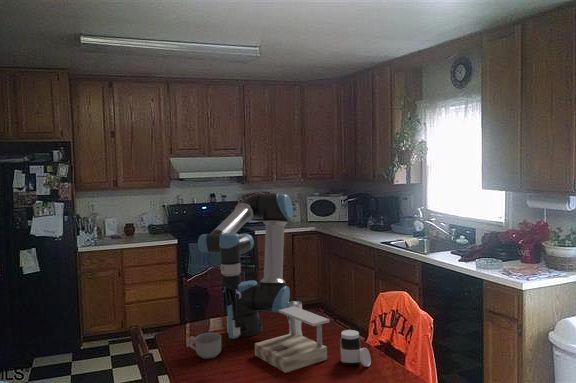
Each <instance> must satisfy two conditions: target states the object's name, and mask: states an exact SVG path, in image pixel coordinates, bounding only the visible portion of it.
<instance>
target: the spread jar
mask: <svg viewBox="0 0 576 383" xmlns="http://www.w3.org/2000/svg"><path fill="white" fill-rule="evenodd" d="M340 336H341V337H340V342H339V344H340V345H339V346H340V361H341V364H342V365H344V366H348V367H355V366H356V367H357V366H358V365H360V364H362V366H363V367H366V368H367V367H370V366H371V363H372V357H371V354H370V351H369V349H368V348H367V347H362V348H361V340H360V332H359V331H357V330H355V329H354V330H353V329H345V330H343V331H341V333H340Z"/></svg>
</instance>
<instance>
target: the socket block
mask: <svg viewBox="0 0 576 383" xmlns="http://www.w3.org/2000/svg"><path fill="white" fill-rule="evenodd" d="M254 356H255V357H256V358H259V359H261V360H262V361H265V363H267V364H269V365H271V366H273V367H274V368H276V369H278V370H280V371H281V372H284V373H290V372H292V371H296V370H298V369H301V368H305V367H308V366H311V365H314V364H317V363H320V362H323V361H326V360H328V346H326V345H323V344H322V347H320V348H319V347H317V341H315V340H313V339H310V338H308V337H306V336H303V335H302V336H301V335H299V334H297V333H296V335H294V336H293V335H291V334H289V333H288V334H285V335H281V336H277V337H272V338H270V339H265V340H262V341H259V342H255V343H254Z"/></svg>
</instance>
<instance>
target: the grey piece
mask: <svg viewBox="0 0 576 383" xmlns="http://www.w3.org/2000/svg"><path fill="white" fill-rule="evenodd" d="M278 313H280V314H282V315H284V316H286V317H287V316H289V317H290V318H291V335H293V336H294V335H296V325H295V319H297V320H299V321H302V323H304V324H307V325H310V326H311V327H316V342H317V347H319V348H320V347H322V345H323V333H322V332H323V329H322V327H323V325H324V324H326V323H327V324H328V323H330V318H326V317H324V316H321V315H319V314H315V313H313V312H311V311H309V310H305V309H303V308H302V309H300V308H297V307H295V306H293V307H289V308H287V307H286V308H285V309H281V310H279V312H278Z"/></svg>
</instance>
